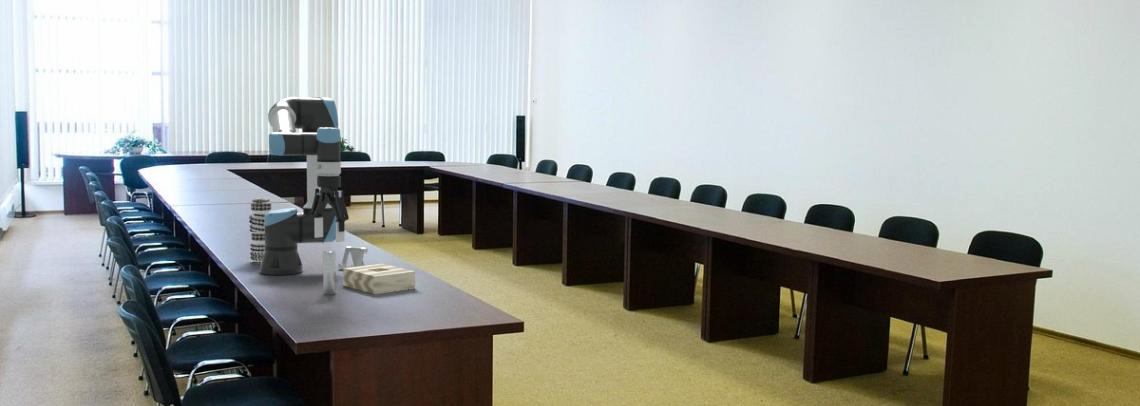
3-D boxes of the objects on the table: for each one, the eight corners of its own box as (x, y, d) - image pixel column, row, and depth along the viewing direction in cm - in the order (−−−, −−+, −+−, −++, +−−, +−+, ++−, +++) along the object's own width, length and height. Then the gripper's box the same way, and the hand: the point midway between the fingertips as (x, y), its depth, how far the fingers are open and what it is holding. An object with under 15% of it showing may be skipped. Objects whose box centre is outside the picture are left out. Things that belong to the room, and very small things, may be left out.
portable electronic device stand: (338, 270, 359) (338, 248, 359) (350, 267, 367) (350, 245, 366) (357, 272, 356) (357, 249, 355) (369, 268, 364) (369, 247, 363)
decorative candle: (279, 261, 376) (278, 198, 374) (260, 264, 368) (259, 200, 366) (263, 258, 381) (262, 196, 379) (244, 261, 373) (243, 198, 371)
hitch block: (343, 285, 329) (343, 268, 328) (382, 280, 340) (382, 263, 340) (374, 294, 315) (374, 276, 314) (414, 288, 326) (415, 271, 325)
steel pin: (321, 293, 314) (320, 251, 313) (331, 292, 317) (331, 250, 316) (327, 295, 311) (326, 253, 310) (338, 293, 314) (337, 252, 313)
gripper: (299, 173, 317) (300, 236, 319) (338, 177, 299) (339, 244, 301) (319, 172, 322) (320, 234, 324) (359, 176, 304) (359, 242, 306)
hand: (329, 239), depth 312 cm, fingers open, 13 cm apart
